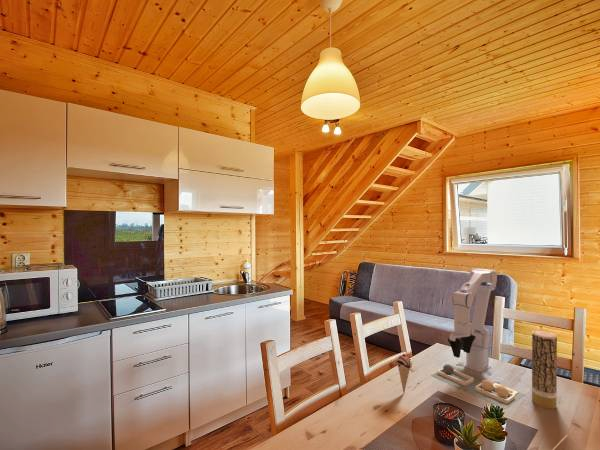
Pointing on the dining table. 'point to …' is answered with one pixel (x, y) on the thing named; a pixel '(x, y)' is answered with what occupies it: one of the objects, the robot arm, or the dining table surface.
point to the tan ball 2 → (502, 391)
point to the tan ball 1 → (487, 385)
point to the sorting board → (477, 387)
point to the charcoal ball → (448, 369)
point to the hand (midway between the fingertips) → (461, 354)
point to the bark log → (544, 369)
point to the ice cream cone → (404, 369)
